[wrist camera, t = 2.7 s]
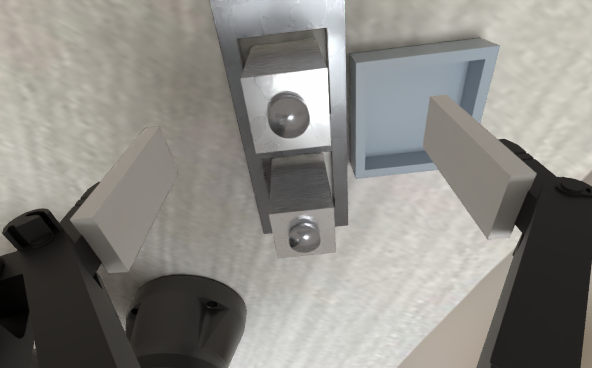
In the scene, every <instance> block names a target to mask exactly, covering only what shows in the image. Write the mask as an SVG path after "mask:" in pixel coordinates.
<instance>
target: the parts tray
mask: <svg viewBox="0 0 592 368" xmlns="http://www.w3.org/2000/svg"><path fill="white" fill-rule="evenodd" d="M499 48H500V45H497V44H494V43H492V42H489V41H487V40H484V39H482V38H475V39H467V40H458V41H450V42H442V43H434V44H426V45H417V46H409V47H401V48H393V49H384V50H376V51H368V52H360V53H352V54H349V58H350V163H351V166H352V169H353V172H354V175H355V178H356V179H358V178H368V177H377V176H386V175H395V174H404V173H414V172H423V171H432V170H438V168H437V167H436V165H435V164H434V163H433V161H432V160H431V158H430V157H429V155H428V154H427V153H426V151H425V150H424V148H423V140H424V133H425V127H426V120H427V113H428V107H429V100H430V96H437V95H446V94H447V95H448V96H449V97H450V98H451V99H452V100H453V101H455V102H456V103H457V104H458V105H459V106H460V107H461V108H463V109H464V110H465V111H466V112H467V113H468V114H469V115H471V116H472V117H473V118H474V119H475V120H476V121H477V122H478V123H480V122H481V118H482V115H483V111H484V107H485V103H486V99H487V95H488V91H489V87H490V83H491V79H492V75H493V71H494V67H495V64H496V60H497V56H498V52H499Z"/></svg>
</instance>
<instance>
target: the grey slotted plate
mask: <svg viewBox="0 0 592 368" xmlns="http://www.w3.org/2000/svg"><path fill="white" fill-rule="evenodd" d="M210 5H211V9H212V13H213V18H214V22H215V26H216V30H217V35H218V39H219V43H220V48H221V52H222V56H223V60H224V65H225V69H226V73H227V78H228V82H229V86H230V90H231V95H232V99H233V103H234V108H235V112H236V116H237V121H238V125H239V129H240V133H241V138H242V142H243V146H244V151H245V155H246V159H247V163H248V168H249V172H250V176H251V181H252V185H253V189H254V193H255V198H256V202H257V206H258V211H259V215H260V219H261V224H262V228H263V232H264V234H268V233H273V232H272V227H271V222H270V218H269V202H270V194H269V189H268V184H267V179H266V173H265V168H264V163H263V158H272V157H281V156H290V155H299V154H308V153H317V152H326V151H331V152H332V173H333V194H334V199H332V201H333V206H334V221H335V226H345V225H348V191H347V123H346V54H345V0H210ZM319 28H326V47H327V68H328V89H329V118H330V139H331V145H329V146H320V147H311V148H302V149H293V150H284V151H275V152H266V153H257V154H256V151H255V146H254V141H253V137H252V132H251V127H250V122H249V118H248V113H247V108H246V103H245V98H244V94H243V89H242V84H241V79H240V78H241V75H242V72H243V70H244V62H243V57H242V52H241V47H240V42H239V38H247V37H255V36H263V35H271V34H279V33H287V32H295V31H303V30H311V29H319Z"/></svg>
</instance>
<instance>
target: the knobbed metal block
mask: <svg viewBox="0 0 592 368" xmlns="http://www.w3.org/2000/svg"><path fill="white" fill-rule="evenodd" d="M240 79H241V84H242V89H243V94H244V98H245V103H246V108H247V113H248V118H249V122H250V127H251V132H252V137H253V141H254V146H255V151H256V154H257V153H266V152H275V151H284V150H293V149H302V148H311V147H320V146H329V145H331V139H330V118H329V97H328V77H327V67H326V64H325V62H324V59H323V57H322V55H321V52H320V50H319V47H318V45H317V43H316V40H315V38H313V39H305V40H297V41H289V42H281V43H273V44H265V45H257V46H252V47H251V50H250V52H249V55H248V58H247V61H246V64H245V67H244V70H243V72H242V75H241V78H240Z"/></svg>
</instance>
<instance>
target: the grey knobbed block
mask: <svg viewBox="0 0 592 368" xmlns="http://www.w3.org/2000/svg"><path fill="white" fill-rule="evenodd" d="M269 218H270V222H271V227H272V232H273V237H274V242H275V246H276V251H277V256H278V258H284V257H294V256H304V255H314V254H324V253H334V252H336V242H335V221H334V206H333V201H332V196H331V192H330V187H329V182H328V177H327V173H326V168H325V163H324V158H323V153H318V154H309V155H300V156H291V157H282V158H273V159H272V164H271V183H270V202H269Z"/></svg>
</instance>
